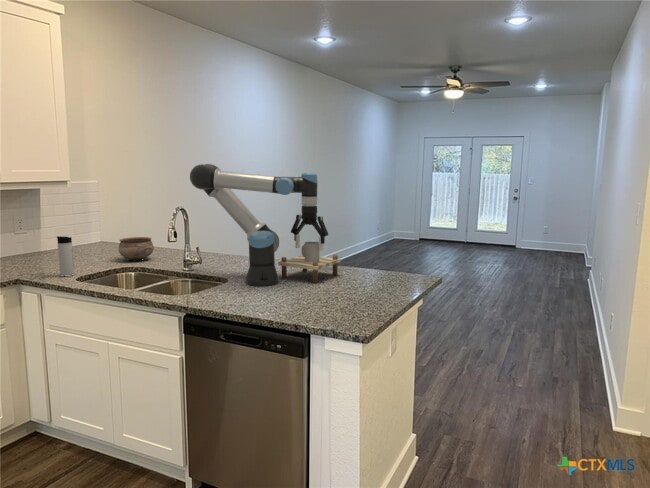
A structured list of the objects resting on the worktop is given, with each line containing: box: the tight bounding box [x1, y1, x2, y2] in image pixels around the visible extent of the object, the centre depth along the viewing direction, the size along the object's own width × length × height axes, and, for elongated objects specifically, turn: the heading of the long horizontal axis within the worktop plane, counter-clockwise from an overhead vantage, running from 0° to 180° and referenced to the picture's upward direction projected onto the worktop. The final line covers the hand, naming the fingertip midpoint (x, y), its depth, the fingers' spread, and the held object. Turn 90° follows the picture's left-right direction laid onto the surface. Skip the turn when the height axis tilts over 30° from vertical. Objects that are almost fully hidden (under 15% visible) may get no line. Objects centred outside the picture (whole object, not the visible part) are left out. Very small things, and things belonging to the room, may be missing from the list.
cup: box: [301, 241, 320, 262], centre depth 243 cm, size 7×10×9 cm
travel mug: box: [56, 236, 75, 276], centre depth 246 cm, size 6×7×20 cm
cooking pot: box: [118, 236, 155, 261], centre depth 287 cm, size 25×19×12 cm
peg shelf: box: [277, 254, 341, 284], centre depth 244 cm, size 22×22×10 cm
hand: (309, 249), depth 243 cm, fingers open, 13 cm apart
